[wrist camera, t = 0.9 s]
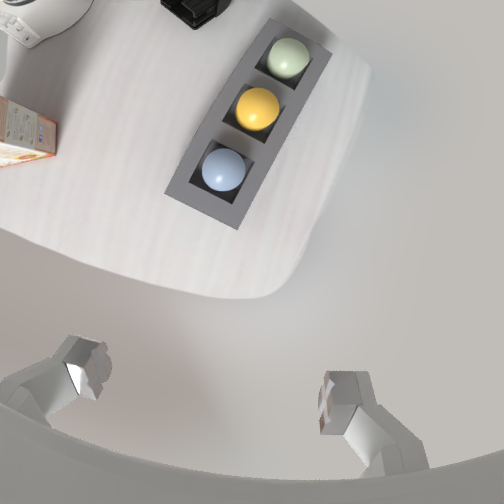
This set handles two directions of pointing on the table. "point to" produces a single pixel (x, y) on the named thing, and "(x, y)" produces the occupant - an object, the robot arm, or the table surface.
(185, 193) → the button console
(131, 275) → the table surface
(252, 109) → the amber button
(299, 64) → the sage button
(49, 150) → the cracker box
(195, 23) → the end cap
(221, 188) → the slate button
